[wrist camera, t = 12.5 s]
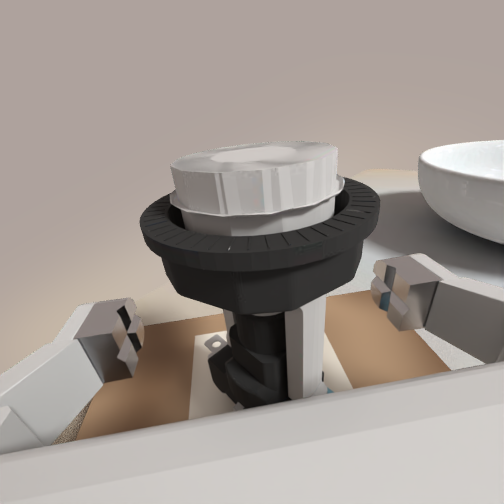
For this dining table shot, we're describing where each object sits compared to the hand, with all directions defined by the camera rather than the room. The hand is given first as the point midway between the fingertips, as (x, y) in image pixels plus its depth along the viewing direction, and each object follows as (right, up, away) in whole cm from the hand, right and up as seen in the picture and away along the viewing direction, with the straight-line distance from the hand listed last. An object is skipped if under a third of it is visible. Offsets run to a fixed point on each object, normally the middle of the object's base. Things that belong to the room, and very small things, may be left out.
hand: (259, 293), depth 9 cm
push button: (0, -5, +2) cm, 6 cm away
